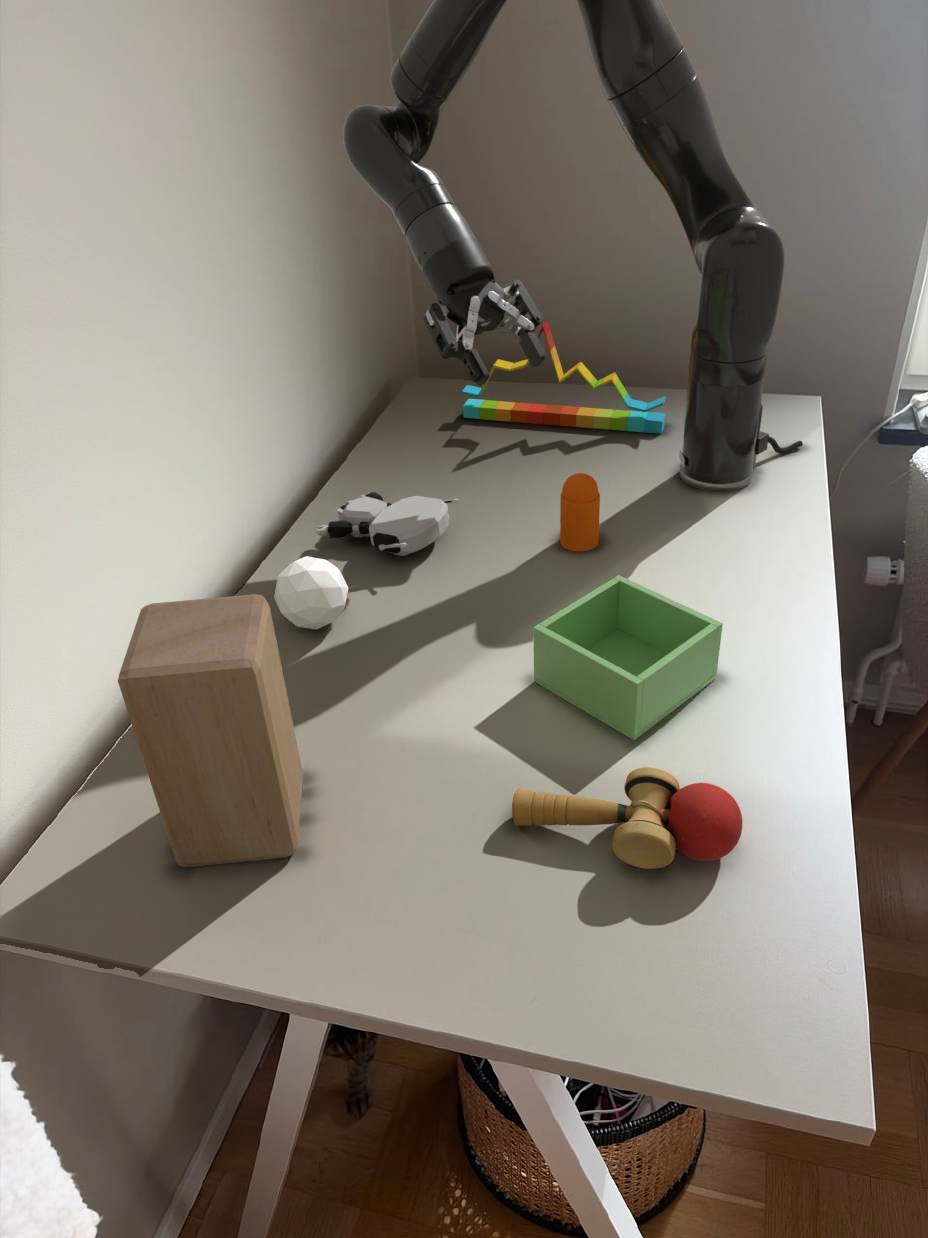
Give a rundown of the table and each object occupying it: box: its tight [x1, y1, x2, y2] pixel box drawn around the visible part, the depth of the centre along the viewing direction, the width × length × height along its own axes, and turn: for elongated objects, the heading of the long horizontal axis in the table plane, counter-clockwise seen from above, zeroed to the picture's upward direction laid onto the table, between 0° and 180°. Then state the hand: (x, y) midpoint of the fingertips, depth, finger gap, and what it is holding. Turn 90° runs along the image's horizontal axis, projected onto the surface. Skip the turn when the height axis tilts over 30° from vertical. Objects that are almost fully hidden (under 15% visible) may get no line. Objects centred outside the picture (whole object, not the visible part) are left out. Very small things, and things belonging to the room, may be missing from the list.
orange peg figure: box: [559, 472, 601, 553], centre depth 115 cm, size 5×5×9 cm
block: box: [117, 593, 304, 868], centre depth 77 cm, size 10×10×20 cm
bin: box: [532, 574, 723, 741], centre depth 94 cm, size 13×13×7 cm
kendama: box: [511, 766, 743, 870], centre depth 78 cm, size 8×6×18 cm
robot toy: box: [315, 491, 461, 557], centre depth 120 cm, size 12×4×15 cm
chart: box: [461, 319, 667, 434], centre depth 143 cm, size 30×3×15 cm, turn 72°
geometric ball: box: [273, 555, 349, 630], centre depth 105 cm, size 8×8×8 cm
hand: (512, 372), depth 115 cm, fingers open, 8 cm apart
